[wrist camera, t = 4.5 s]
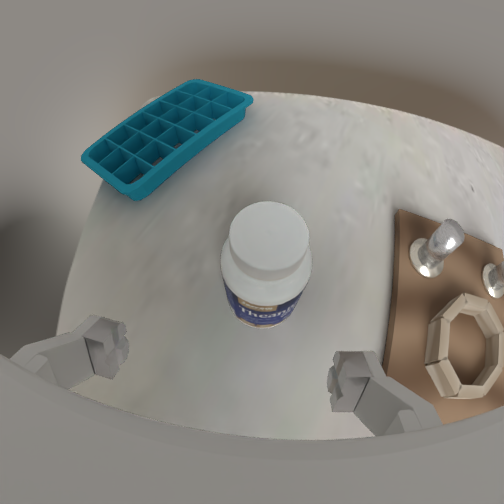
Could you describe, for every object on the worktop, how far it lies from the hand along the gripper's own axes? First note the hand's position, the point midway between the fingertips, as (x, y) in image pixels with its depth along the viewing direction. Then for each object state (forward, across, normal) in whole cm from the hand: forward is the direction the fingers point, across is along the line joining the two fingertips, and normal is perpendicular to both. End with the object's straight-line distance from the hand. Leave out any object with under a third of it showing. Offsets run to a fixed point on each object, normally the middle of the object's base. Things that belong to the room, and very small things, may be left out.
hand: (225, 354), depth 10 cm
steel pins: (+13, -21, 0) cm, 25 cm away
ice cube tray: (+26, +12, -9) cm, 30 cm away
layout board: (+11, -20, +4) cm, 23 cm away
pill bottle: (+12, -1, +4) cm, 13 cm away
